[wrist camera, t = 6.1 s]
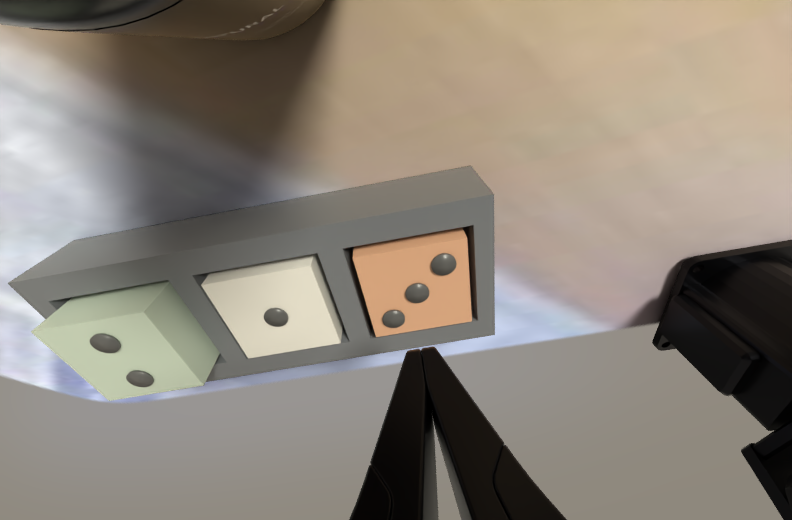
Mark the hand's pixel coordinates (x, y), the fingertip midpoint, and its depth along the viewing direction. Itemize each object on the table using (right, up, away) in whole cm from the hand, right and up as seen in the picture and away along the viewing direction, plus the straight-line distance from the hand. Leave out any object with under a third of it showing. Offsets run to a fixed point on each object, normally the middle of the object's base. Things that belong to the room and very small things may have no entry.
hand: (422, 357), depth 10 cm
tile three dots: (0, +3, +5) cm, 6 cm away
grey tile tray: (-6, +3, +6) cm, 8 cm away
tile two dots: (-11, +1, +4) cm, 12 cm away
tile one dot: (-6, +2, +5) cm, 8 cm away
